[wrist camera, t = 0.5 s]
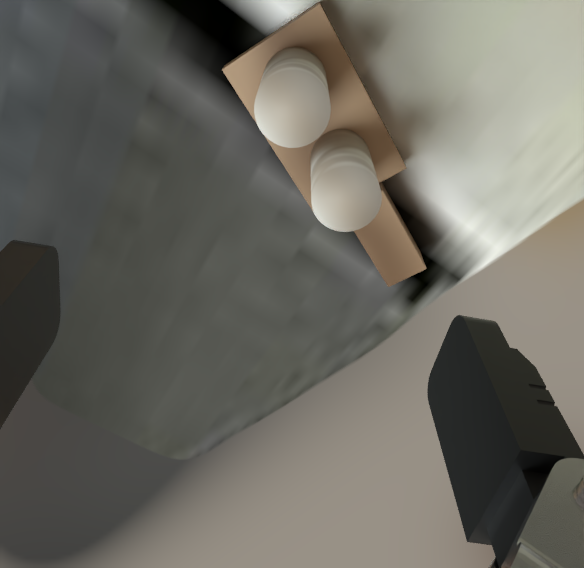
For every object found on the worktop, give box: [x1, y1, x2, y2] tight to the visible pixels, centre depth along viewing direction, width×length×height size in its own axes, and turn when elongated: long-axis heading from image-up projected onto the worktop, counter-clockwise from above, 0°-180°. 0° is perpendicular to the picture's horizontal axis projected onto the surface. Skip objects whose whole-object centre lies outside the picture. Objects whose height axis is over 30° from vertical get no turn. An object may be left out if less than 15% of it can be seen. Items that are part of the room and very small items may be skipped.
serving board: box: [222, 2, 426, 287], centre depth 30 cm, size 6×16×7 cm, turn 31°
